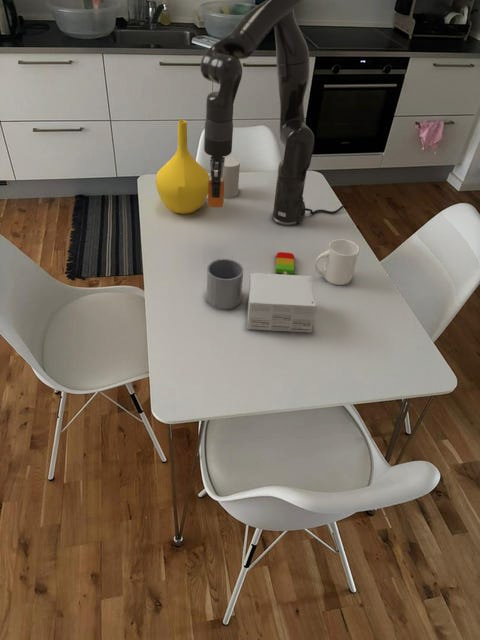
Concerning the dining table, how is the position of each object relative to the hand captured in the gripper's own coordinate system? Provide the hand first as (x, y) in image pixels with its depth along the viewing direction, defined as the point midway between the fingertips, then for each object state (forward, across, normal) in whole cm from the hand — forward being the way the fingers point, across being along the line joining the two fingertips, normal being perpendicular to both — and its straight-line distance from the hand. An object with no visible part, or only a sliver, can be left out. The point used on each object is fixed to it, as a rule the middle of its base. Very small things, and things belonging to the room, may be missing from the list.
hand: (216, 193), depth 146 cm
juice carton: (+3, 0, 0) cm, 3 cm away
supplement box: (+19, -30, -20) cm, 41 cm away
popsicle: (+19, -9, -22) cm, 31 cm away
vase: (+19, +26, +12) cm, 34 cm away
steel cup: (+19, -24, -4) cm, 31 cm away
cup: (+19, +39, -2) cm, 43 cm away
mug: (+19, -11, -36) cm, 42 cm away
